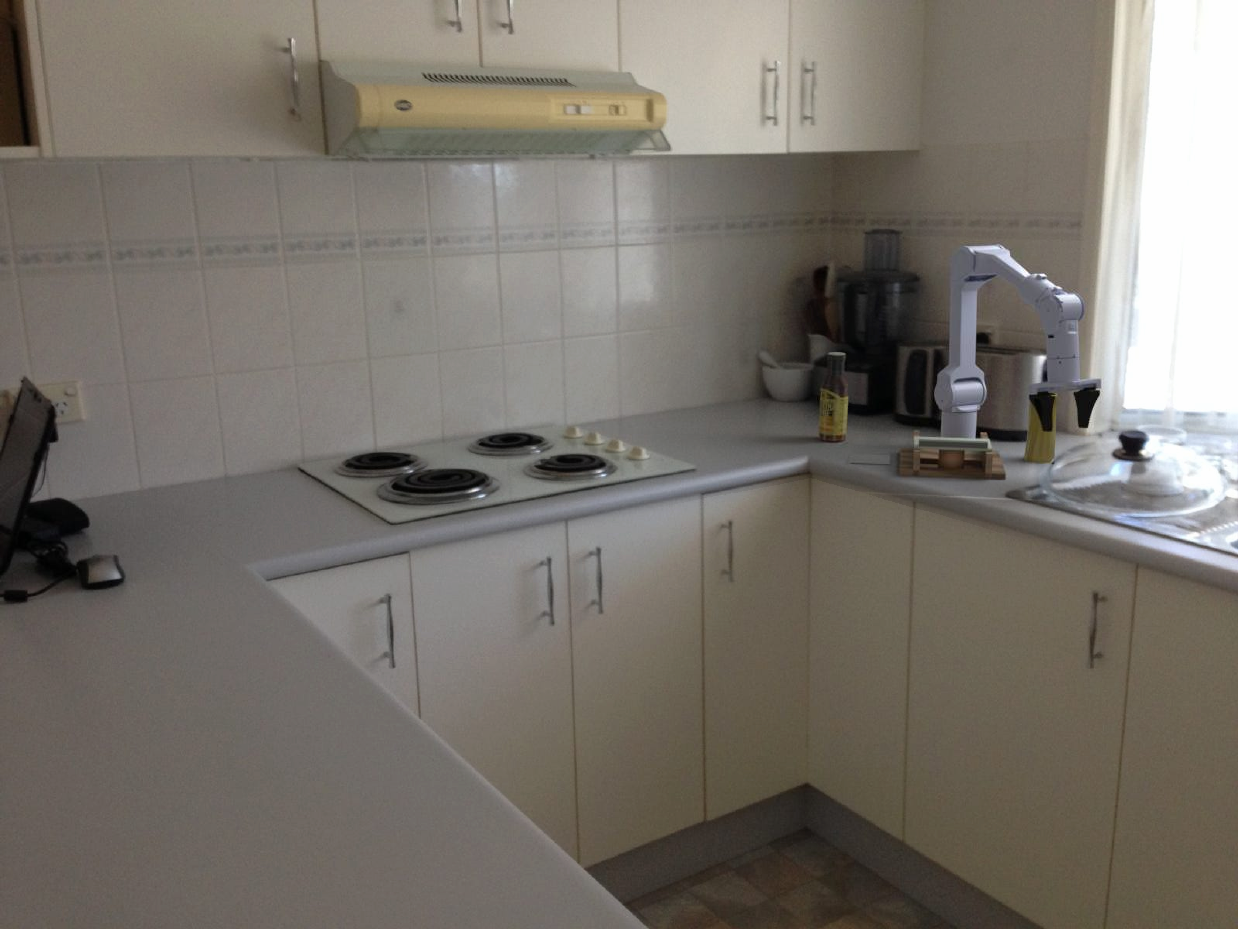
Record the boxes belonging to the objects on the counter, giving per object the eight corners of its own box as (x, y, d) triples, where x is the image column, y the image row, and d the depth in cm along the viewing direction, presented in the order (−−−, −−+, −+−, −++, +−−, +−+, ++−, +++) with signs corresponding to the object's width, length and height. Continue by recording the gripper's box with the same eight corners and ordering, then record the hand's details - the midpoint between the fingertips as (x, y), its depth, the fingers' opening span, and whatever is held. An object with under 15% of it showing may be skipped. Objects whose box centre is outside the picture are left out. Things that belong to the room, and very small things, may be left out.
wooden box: (900, 454, 247) (901, 429, 245) (997, 457, 242) (999, 432, 241) (899, 476, 228) (900, 450, 227) (1005, 481, 223) (1007, 454, 222)
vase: (1027, 456, 242) (1031, 389, 239) (1057, 459, 239) (1062, 392, 236) (1020, 462, 237) (1025, 394, 234) (1051, 466, 234) (1056, 397, 231)
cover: (913, 438, 236) (914, 431, 236) (989, 441, 233) (989, 433, 232) (914, 448, 228) (914, 440, 227) (992, 451, 224) (992, 443, 224)
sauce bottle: (813, 438, 263) (814, 352, 258) (835, 435, 266) (838, 350, 261) (829, 444, 257) (832, 355, 253) (852, 441, 260) (855, 353, 255)
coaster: (851, 456, 245) (851, 453, 245) (890, 458, 243) (890, 455, 243) (849, 465, 238) (850, 462, 238) (889, 466, 236) (889, 464, 236)
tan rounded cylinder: (937, 465, 234) (938, 444, 233) (963, 466, 233) (964, 445, 232) (938, 471, 230) (939, 449, 229) (964, 472, 229) (965, 450, 227)
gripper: (1040, 360, 212) (1043, 434, 213) (1110, 354, 215) (1112, 427, 216) (1019, 361, 219) (1022, 432, 220) (1087, 355, 222) (1089, 425, 223)
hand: (1065, 429), depth 219 cm, fingers open, 7 cm apart
